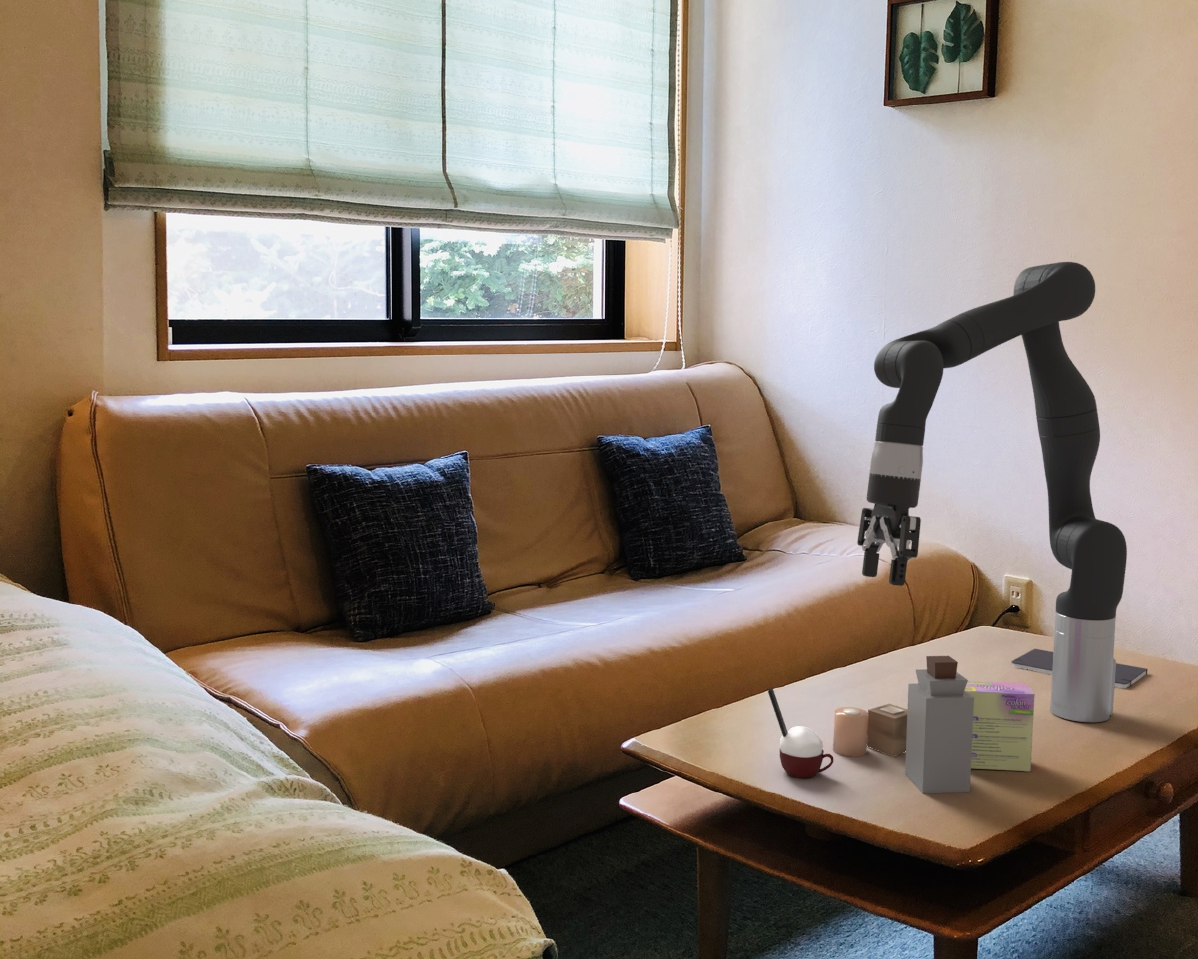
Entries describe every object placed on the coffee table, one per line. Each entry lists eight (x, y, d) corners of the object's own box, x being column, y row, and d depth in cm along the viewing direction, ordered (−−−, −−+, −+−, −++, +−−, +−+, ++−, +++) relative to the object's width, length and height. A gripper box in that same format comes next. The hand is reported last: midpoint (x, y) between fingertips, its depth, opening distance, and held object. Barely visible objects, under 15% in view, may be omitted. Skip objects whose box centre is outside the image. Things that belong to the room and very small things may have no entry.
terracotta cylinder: (849, 742, 173) (851, 704, 173) (873, 753, 169) (875, 713, 168) (826, 748, 171) (827, 709, 170) (849, 759, 167) (851, 719, 166)
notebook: (1147, 676, 210) (1034, 655, 224) (1147, 668, 210) (1034, 648, 224) (1126, 692, 201) (1009, 669, 215) (1126, 683, 201) (1009, 661, 215)
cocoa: (836, 777, 160) (844, 697, 159) (813, 789, 156) (821, 706, 154) (780, 758, 167) (787, 680, 165) (757, 768, 162) (763, 688, 160)
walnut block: (887, 740, 174) (889, 702, 174) (914, 750, 170) (915, 710, 170) (866, 747, 171) (868, 708, 171) (893, 757, 168) (894, 717, 167)
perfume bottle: (905, 774, 161) (909, 653, 158) (950, 773, 161) (955, 652, 159) (922, 793, 154) (927, 666, 152) (969, 791, 154) (975, 665, 152)
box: (1020, 758, 167) (1024, 681, 166) (1031, 772, 162) (1035, 693, 160) (949, 755, 168) (952, 679, 167) (957, 769, 163) (961, 691, 161)
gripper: (942, 479, 161) (929, 590, 162) (894, 473, 175) (882, 575, 176) (896, 474, 159) (882, 586, 160) (850, 468, 173) (838, 572, 174)
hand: (882, 580), depth 168 cm, fingers open, 8 cm apart
